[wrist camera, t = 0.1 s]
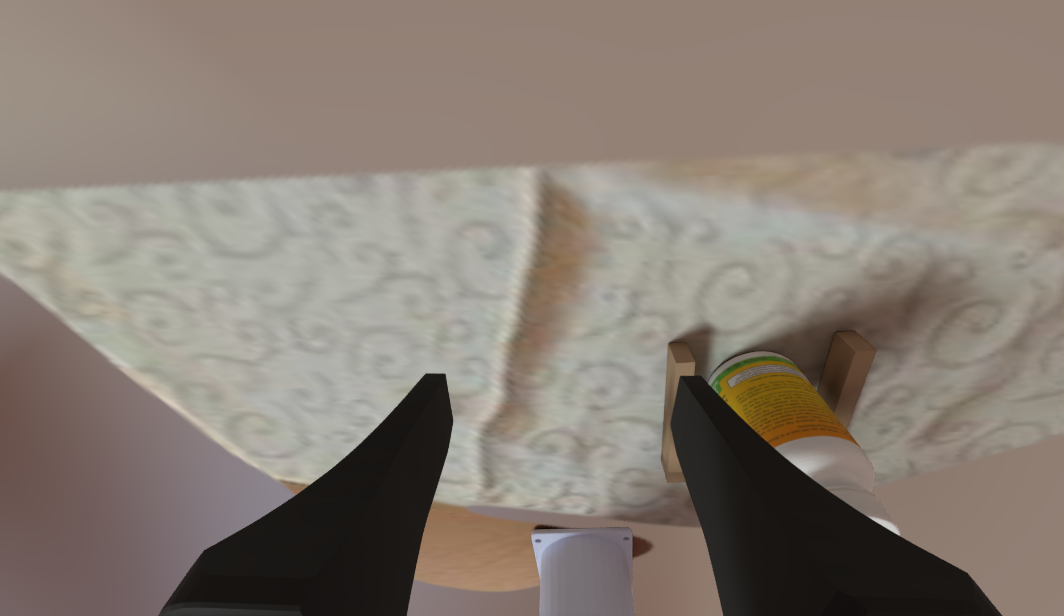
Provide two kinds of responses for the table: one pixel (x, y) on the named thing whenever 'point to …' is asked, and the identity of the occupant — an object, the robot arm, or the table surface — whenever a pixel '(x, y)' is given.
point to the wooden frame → (835, 388)
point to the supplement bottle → (800, 427)
